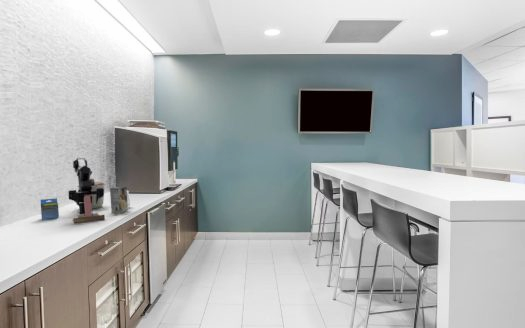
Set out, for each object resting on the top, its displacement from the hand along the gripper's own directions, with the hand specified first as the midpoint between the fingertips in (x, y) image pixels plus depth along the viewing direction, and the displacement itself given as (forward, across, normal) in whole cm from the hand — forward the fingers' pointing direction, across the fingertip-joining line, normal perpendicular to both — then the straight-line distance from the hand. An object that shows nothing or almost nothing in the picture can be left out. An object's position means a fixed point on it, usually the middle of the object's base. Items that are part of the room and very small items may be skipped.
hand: (88, 204), depth 197 cm
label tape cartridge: (-10, -19, +24) cm, 32 cm away
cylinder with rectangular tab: (-17, +25, +30) cm, 43 cm away
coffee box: (-6, +20, +20) cm, 29 cm away
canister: (-27, +7, +41) cm, 50 cm away
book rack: (+6, 0, +8) cm, 9 cm away
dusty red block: (+5, 0, +5) cm, 7 cm away
